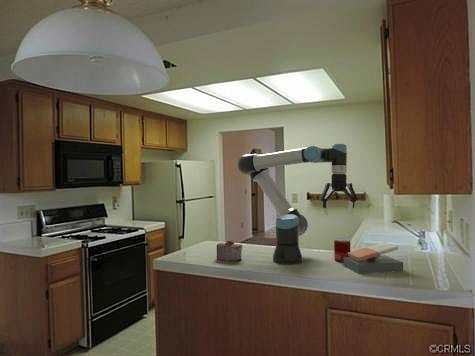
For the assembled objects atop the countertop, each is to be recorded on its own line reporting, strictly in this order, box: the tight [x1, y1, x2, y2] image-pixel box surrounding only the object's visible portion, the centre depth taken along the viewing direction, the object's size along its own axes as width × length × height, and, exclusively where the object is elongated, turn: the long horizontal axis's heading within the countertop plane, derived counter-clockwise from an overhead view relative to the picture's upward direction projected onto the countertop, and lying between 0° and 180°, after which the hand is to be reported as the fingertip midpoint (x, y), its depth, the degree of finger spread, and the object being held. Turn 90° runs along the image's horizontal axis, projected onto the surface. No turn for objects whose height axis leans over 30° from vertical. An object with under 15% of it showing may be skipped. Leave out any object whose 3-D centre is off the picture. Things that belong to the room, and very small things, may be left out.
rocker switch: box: [348, 242, 399, 261], centre depth 154 cm, size 20×10×2 cm, turn 99°
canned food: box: [333, 237, 351, 263], centre depth 169 cm, size 8×8×11 cm
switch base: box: [343, 254, 404, 274], centre depth 154 cm, size 22×14×6 cm, turn 99°
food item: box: [216, 240, 243, 262], centre depth 172 cm, size 14×8×10 cm, turn 69°
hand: (338, 214), depth 170 cm, fingers open, 13 cm apart
